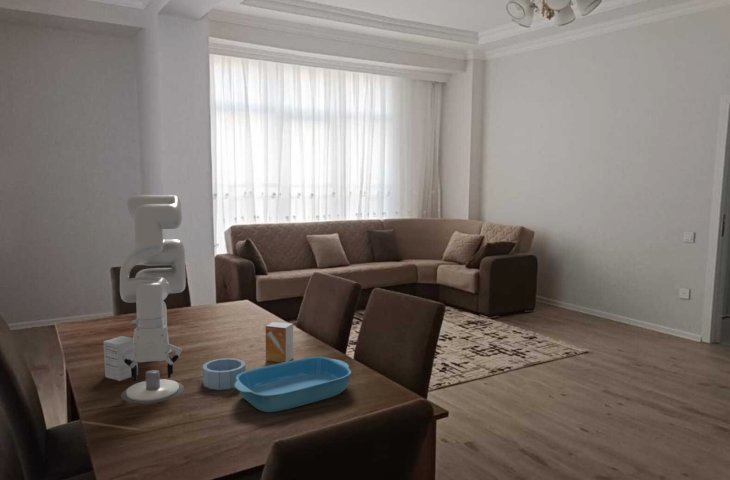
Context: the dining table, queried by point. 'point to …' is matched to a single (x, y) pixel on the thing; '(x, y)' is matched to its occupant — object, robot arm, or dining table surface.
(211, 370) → the bowl
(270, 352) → the small box
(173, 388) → the lid
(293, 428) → the dining table surface
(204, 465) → the dining table surface
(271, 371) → the casserole dish
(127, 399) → the mat
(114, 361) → the supplement box
